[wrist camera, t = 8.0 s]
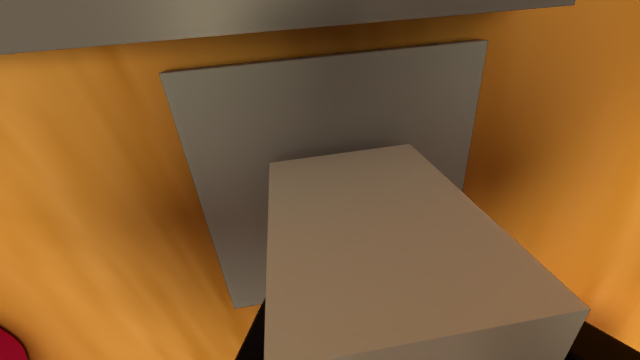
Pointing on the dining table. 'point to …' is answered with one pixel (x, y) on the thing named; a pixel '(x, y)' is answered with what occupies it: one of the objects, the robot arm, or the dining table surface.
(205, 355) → the dining table surface
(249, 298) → the mat
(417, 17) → the power strip
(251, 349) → the robot arm
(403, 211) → the block
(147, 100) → the dining table surface
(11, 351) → the pepper mill
